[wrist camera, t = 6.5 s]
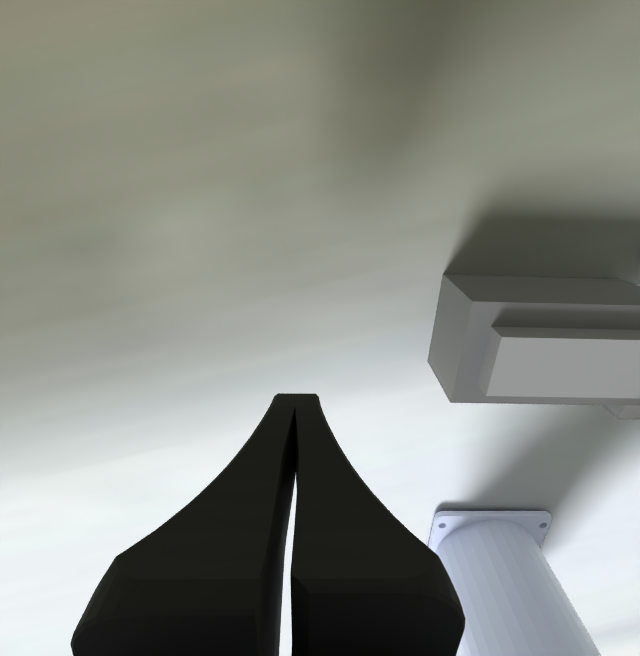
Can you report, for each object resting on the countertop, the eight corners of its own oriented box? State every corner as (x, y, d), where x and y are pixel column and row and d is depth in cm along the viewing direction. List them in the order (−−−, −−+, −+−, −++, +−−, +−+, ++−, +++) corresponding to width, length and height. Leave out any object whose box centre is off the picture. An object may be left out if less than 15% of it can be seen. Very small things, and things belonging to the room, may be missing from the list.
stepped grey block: (583, 362, 21) (657, 419, 17) (426, 359, 21) (458, 416, 16) (616, 277, 19) (711, 316, 14) (441, 273, 19) (482, 310, 14)
